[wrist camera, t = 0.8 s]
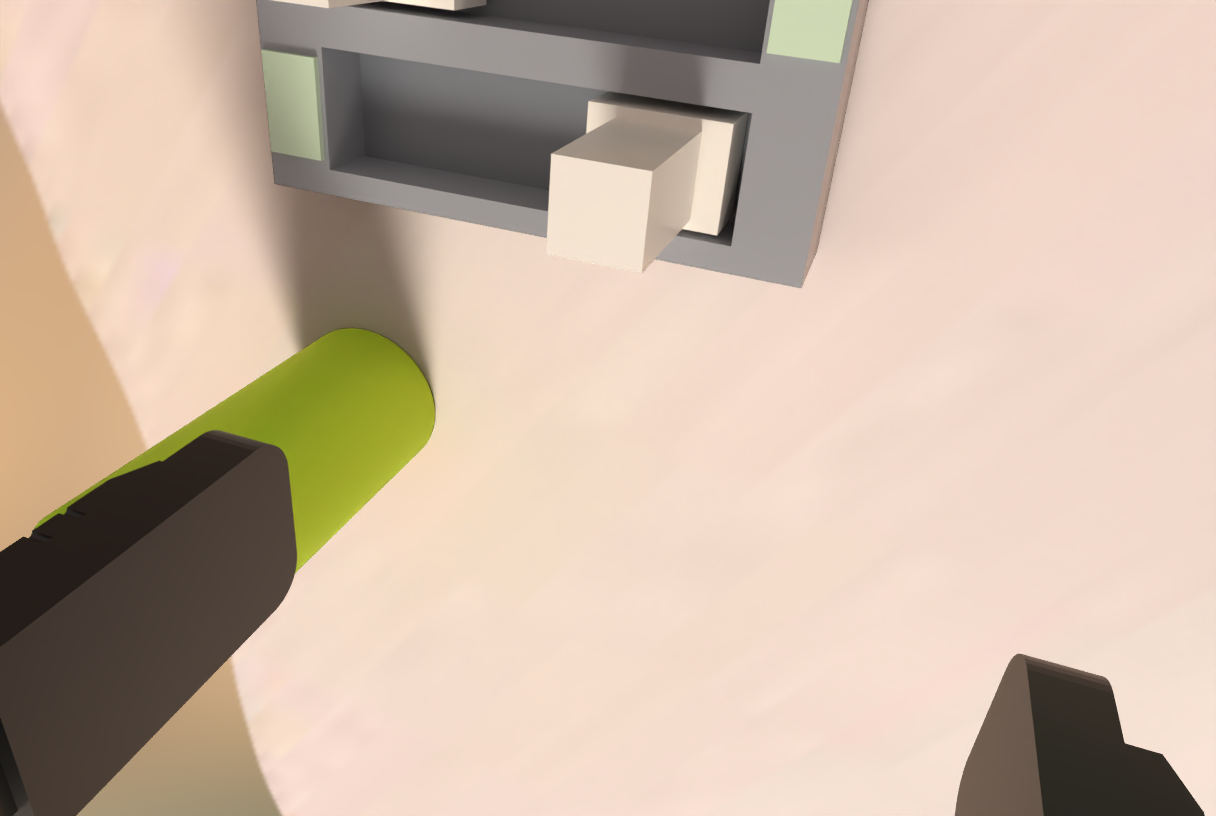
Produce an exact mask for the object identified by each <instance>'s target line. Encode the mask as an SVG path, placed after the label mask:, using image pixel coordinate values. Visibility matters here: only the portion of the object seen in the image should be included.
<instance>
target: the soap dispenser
mask: <svg viewBox="0 0 1216 816" xmlns="http://www.w3.org/2000/svg"><path fill="white" fill-rule="evenodd" d="M434 421H435V408H434V401H433V397H432V393H431V390H430V388H429V385H428V383H427V381H426V379H425V377H424V375H423V374H422V372H421V370H420V369H419V367H418V366H417V365H416V363H415V362H414V361H413V360H412V359H411V358H410V357H409V355H408V354H407V353H405V352H404V351H403V350H402V349H401V348H400V347H399V346H397V345H396V344H394V343H393V342H392V341H390V340H388V339H387V338H385V337H383V336H381V335H379V334H376V333H374V332H371V331H367V330H363V329H356V328H345V329H339V330H335V331H332V332H330V333H328V334H326V335H324V336H322V337H321V338H319V339H318V340H316V341H315V342H313V343H312V344H310V345H309V346H307V347H306V348H304V349H302V350H301V351H299V352H298V353H296V354H295V355H293V356H292V357H290V358H289V359H287V360H286V361H284V362H282V363H281V364H279V365H278V366H276V367H275V368H273V369H272V370H270V371H269V372H267V373H266V374H264V375H263V376H261V377H259V378H258V379H256V380H255V381H253V382H252V383H250V384H249V385H247V386H246V387H244V388H243V389H241V390H239V391H238V392H236V393H235V394H233V395H232V396H230V397H229V398H227V399H226V400H224V401H223V402H221V403H219V404H218V405H216V406H215V407H213V408H212V409H210V410H209V411H207V412H206V413H204V414H203V415H201V416H199V417H198V418H196V419H195V420H193V421H192V422H190V423H189V424H187V425H186V426H184V427H183V428H181V429H180V430H178V431H176V432H175V433H173V434H172V435H170V436H169V437H167V438H166V439H164V440H163V441H161V442H160V443H158V444H156V445H155V446H153V447H152V448H150V449H149V450H147V451H146V452H144V453H143V454H141V455H140V456H138V457H137V458H135V459H134V460H132V461H130V462H129V463H127V464H126V465H124V466H123V467H121V468H120V469H118V470H117V471H115V472H113V473H112V474H110V475H109V476H107V477H106V478H104V479H103V480H101V481H100V482H98V483H97V484H95V485H93V486H92V487H90V488H89V489H87V490H86V491H84V492H83V493H81V494H80V495H78V496H77V497H75V498H73V499H72V500H71V501H69V502H68V503H66V504H64V505H63V506H61V507H60V508H58V509H57V510H55V511H53V512H52V513H51V514H49V515H47V516H46V517H44V518H43V519H42V520H41V521H40V522H39V523H38V524H37V525H36V527H35V528H37V527H38V526H40V525H41V524H43V523H44V522H46V521H47V520H49V519H50V518H52V517H53V516H55V515H56V514H58V513H60V514H63V515H64V514H65V513H66V511H67V507H68V506H70V505H71V504H73V503H74V502H76V501H77V500H79V499H80V498H82V497H83V496H85V495H86V494H88V493H89V492H91V491H92V490H94V489H95V488H97V487H98V486H100V485H101V484H103V483H104V482H106V481H107V480H109V479H112V478H115V477H117V476H120V475H122V474H125V473H128V472H130V471H133V470H136V469H138V468H141V467H144V466H146V465H149V464H151V463H154V462H157V461H164V460H165V459H167V458H168V457H170V456H171V455H173V454H174V453H175V452H177V451H178V450H180V449H181V448H183V447H184V446H186V445H187V444H188V443H190V442H191V441H193V440H194V439H196V438H197V437H199V436H200V435H202V434H204V433H205V432H208V431H211V430H220V431H224V432H228V433H231V434H235V435H239V436H242V437H246V438H249V439H253V440H257V441H260V442H264V443H268V444H271V445H275V446H277V447H279V448H280V449H281V450H282V451H283V452H284V454H285V456H286V458H287V462H288V468H289V478H290V488H291V497H292V507H293V517H294V527H295V537H296V547H297V565H296V571H295V573H296V572H297V571H298V570H299V569H300V568H301V567H302V566H303V565H304V564H305V563H306V562H307V561H308V560H309V559H310V558H311V557H312V556H313V555H314V554H315V553H316V552H317V551H318V550H319V549H320V548H321V547H322V546H323V545H324V544H325V543H326V542H327V541H328V540H329V539H330V538H331V537H333V536H334V535H335V534H336V533H337V532H338V531H339V530H340V529H341V528H342V527H343V526H344V525H345V524H346V523H347V522H348V521H349V520H350V519H351V518H352V517H353V516H354V515H355V514H356V513H357V512H358V511H359V510H360V509H361V508H362V507H363V506H364V505H365V504H366V503H367V502H368V501H369V500H370V499H371V498H372V497H373V496H374V495H375V494H376V493H377V492H378V491H379V490H380V489H381V488H383V487H384V486H385V485H386V484H387V483H388V482H389V481H390V480H391V479H392V478H393V477H394V476H395V475H396V474H397V473H398V472H399V471H400V470H401V469H402V468H403V467H404V466H405V465H406V464H407V463H408V462H409V461H410V460H411V459H412V458H413V457H414V456H415V455H416V454H417V453H418V452H419V451H420V450H421V449H422V448H423V447H424V446H425V445H426V443H427V442H428V440H429V438H430V436H431V434H432V431H433V427H434ZM35 528H34V529H35ZM31 535H32V534H31Z"/></svg>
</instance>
